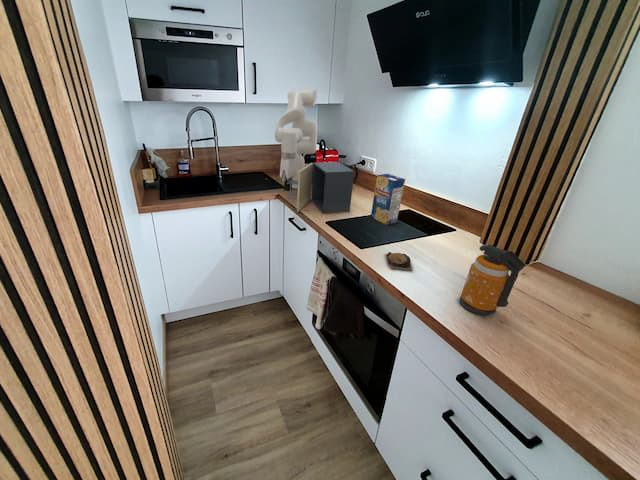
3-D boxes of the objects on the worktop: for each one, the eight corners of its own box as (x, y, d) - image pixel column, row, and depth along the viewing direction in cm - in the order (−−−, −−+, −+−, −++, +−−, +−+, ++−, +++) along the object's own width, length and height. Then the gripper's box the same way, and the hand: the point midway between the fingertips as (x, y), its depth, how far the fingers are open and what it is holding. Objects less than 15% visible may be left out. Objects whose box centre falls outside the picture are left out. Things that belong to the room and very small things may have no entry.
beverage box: (386, 225, 137) (394, 180, 128) (370, 216, 146) (377, 175, 137) (396, 222, 140) (405, 179, 131) (380, 214, 149) (387, 173, 140)
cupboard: (323, 213, 150) (326, 172, 141) (311, 199, 170) (313, 162, 161) (349, 211, 152) (354, 171, 143) (335, 198, 172) (338, 161, 163)
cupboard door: (285, 209, 153) (286, 170, 144) (299, 197, 172) (300, 161, 163) (298, 212, 151) (300, 171, 142) (310, 199, 169) (312, 163, 160)
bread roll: (413, 272, 101) (415, 263, 99) (388, 269, 102) (390, 260, 101) (407, 256, 111) (409, 248, 109) (384, 254, 112) (386, 246, 110)
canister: (466, 293, 90) (486, 237, 82) (507, 312, 82) (533, 253, 74) (453, 304, 85) (472, 245, 77) (495, 326, 77) (522, 264, 69)
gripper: (289, 152, 152) (288, 185, 160) (274, 157, 139) (274, 193, 147) (301, 153, 149) (300, 187, 156) (288, 159, 136) (287, 195, 144)
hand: (287, 189), depth 152 cm, fingers closed on cupboard door
